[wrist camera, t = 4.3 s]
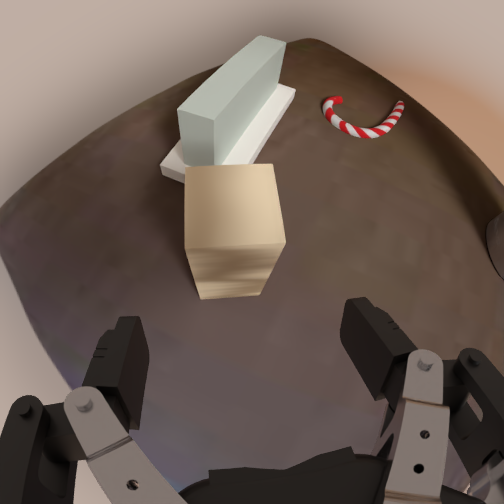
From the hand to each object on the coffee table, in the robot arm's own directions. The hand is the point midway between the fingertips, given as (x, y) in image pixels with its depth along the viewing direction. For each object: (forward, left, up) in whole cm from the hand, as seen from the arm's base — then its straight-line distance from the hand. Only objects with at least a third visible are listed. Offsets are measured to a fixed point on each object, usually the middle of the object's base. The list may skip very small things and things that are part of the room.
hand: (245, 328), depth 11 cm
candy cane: (-4, -32, -11) cm, 34 cm away
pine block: (+3, -5, -11) cm, 12 cm away
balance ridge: (+9, -19, -11) cm, 24 cm away
